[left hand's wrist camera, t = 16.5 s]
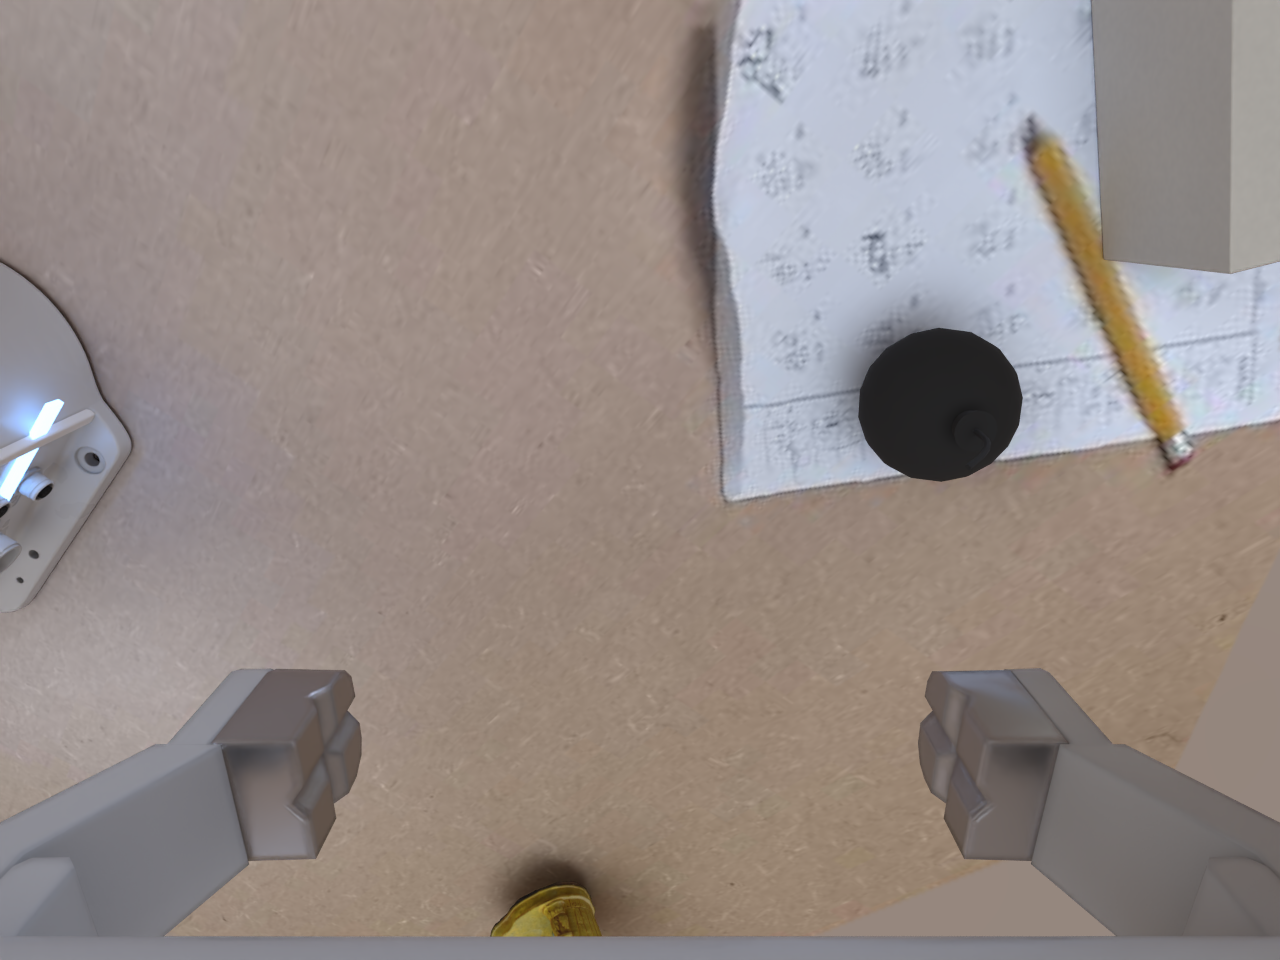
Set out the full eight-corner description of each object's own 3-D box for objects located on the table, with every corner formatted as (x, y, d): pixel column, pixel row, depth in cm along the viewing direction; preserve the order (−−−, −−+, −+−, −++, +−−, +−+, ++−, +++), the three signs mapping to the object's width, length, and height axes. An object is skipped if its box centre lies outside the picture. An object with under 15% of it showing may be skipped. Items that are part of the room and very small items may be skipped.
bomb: (961, 295, 41) (1084, 329, 29) (994, 424, 43) (1119, 501, 32) (824, 350, 42) (892, 403, 30) (864, 473, 44) (941, 564, 33)
